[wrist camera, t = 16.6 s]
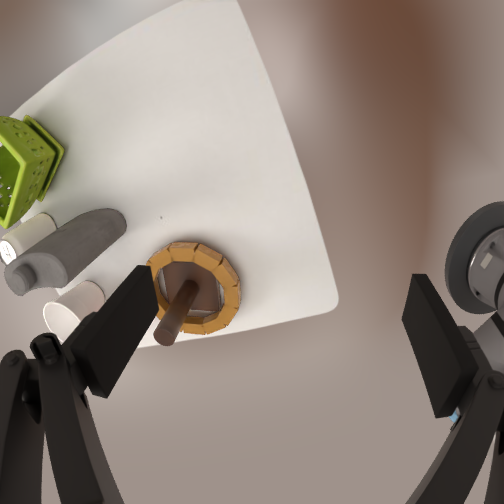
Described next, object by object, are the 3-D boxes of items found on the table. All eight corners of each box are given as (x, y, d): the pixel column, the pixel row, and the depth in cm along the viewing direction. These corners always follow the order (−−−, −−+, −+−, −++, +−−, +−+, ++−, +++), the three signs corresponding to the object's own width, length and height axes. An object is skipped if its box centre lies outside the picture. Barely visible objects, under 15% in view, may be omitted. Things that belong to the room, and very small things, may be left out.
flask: (118, 200, 49) (40, 254, 31) (131, 233, 52) (61, 297, 34) (59, 222, 53) (-14, 272, 35) (71, 250, 55) (3, 306, 37)
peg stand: (216, 259, 52) (190, 313, 39) (221, 306, 56) (200, 365, 43) (164, 258, 53) (126, 307, 40) (172, 303, 57) (141, 357, 44)
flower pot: (33, 105, 43) (-18, 114, 32) (78, 146, 46) (27, 163, 35) (9, 165, 49) (-37, 184, 38) (50, 207, 52) (5, 233, 40)
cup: (117, 317, 60) (92, 352, 51) (79, 309, 61) (52, 341, 52) (108, 274, 56) (77, 307, 46) (68, 268, 57) (36, 298, 47)
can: (43, 246, 56) (5, 274, 45) (31, 217, 53) (-9, 241, 42) (62, 239, 54) (23, 268, 44) (50, 208, 52) (8, 233, 41)
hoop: (237, 243, 48) (235, 249, 46) (242, 329, 55) (240, 337, 53) (139, 241, 50) (133, 247, 48) (156, 322, 57) (151, 329, 55)
